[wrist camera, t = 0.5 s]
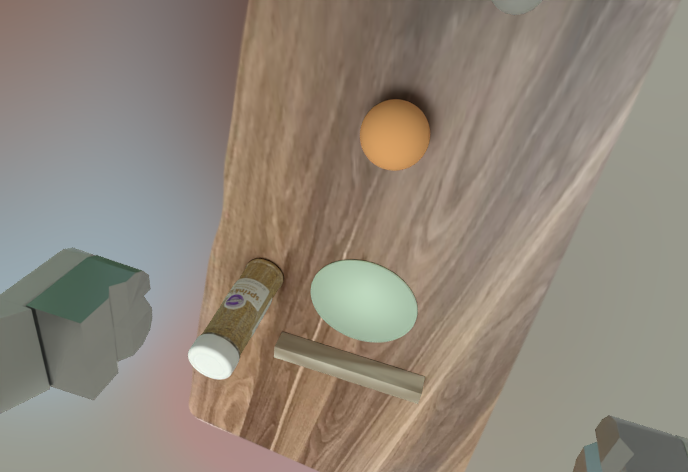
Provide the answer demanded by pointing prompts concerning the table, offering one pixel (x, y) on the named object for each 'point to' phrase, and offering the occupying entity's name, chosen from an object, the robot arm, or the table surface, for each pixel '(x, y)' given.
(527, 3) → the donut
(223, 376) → the sprinkles bottle
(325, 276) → the disc
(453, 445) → the table surface
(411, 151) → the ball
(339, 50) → the table surface
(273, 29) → the table surface
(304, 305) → the table surface
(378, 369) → the rail
